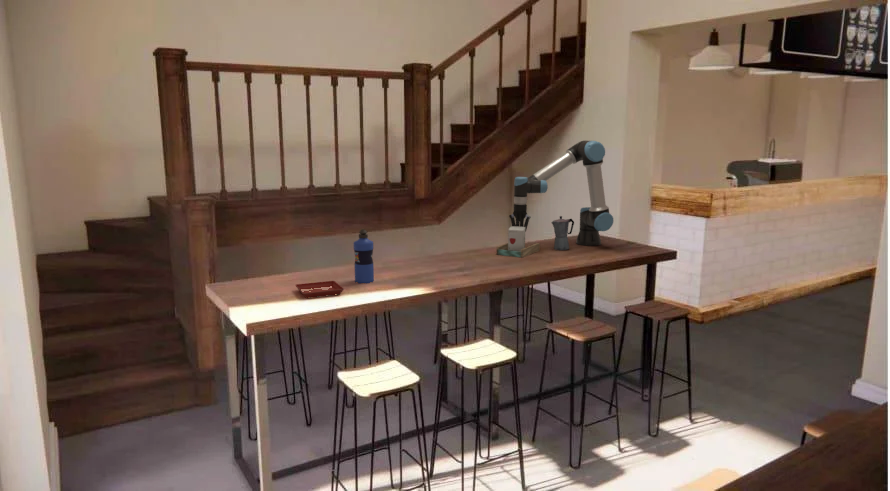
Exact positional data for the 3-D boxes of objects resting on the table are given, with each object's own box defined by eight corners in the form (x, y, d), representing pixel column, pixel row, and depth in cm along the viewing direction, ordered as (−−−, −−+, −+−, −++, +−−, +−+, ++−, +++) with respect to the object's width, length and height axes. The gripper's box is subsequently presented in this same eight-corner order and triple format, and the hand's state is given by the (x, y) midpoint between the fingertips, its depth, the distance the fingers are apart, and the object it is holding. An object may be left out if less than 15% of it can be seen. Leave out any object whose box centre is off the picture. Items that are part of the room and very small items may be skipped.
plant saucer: (295, 291, 289) (294, 283, 288) (334, 286, 296) (334, 280, 295) (303, 300, 272) (303, 293, 272) (344, 296, 280) (344, 288, 279)
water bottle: (357, 284, 299) (356, 231, 294) (352, 280, 307) (350, 228, 302) (376, 282, 302) (375, 230, 298) (370, 278, 311) (369, 227, 306)
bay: (539, 250, 378) (539, 243, 377) (522, 257, 358) (522, 249, 357) (514, 247, 386) (514, 240, 385) (496, 254, 366) (496, 246, 365)
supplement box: (507, 254, 366) (507, 229, 362) (509, 250, 374) (510, 225, 370) (523, 255, 363) (523, 230, 359) (525, 251, 372) (525, 226, 368)
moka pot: (546, 248, 383) (547, 215, 380) (567, 246, 390) (568, 214, 386) (555, 251, 375) (556, 217, 371) (577, 249, 381) (578, 216, 377)
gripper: (507, 203, 369) (506, 243, 373) (527, 205, 362) (526, 245, 367) (512, 202, 375) (511, 241, 380) (533, 203, 368) (531, 243, 373)
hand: (519, 243), depth 373 cm, fingers closed
